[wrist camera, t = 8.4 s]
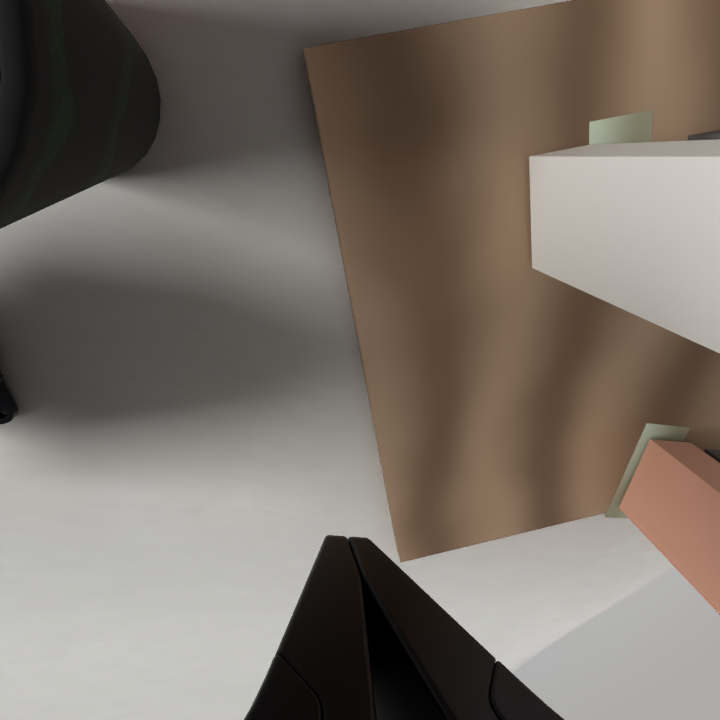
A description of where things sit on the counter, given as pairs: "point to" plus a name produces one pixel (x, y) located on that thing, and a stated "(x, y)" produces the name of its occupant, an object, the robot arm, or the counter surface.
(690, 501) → the salmon pink rectangular block
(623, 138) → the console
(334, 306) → the counter surface
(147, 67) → the cup
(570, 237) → the white rectangular block
